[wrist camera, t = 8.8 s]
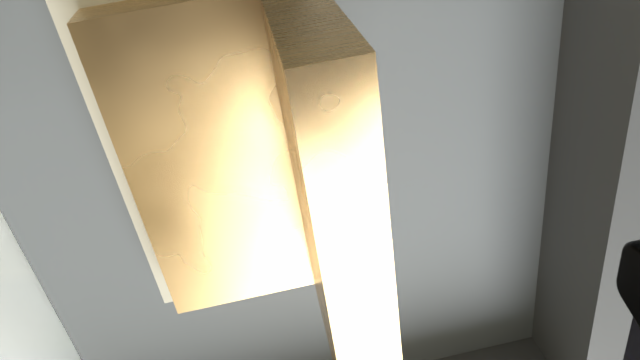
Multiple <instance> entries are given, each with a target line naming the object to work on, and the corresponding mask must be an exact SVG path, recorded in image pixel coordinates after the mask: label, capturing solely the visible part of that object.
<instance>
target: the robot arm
mask: <svg viewBox="0 0 640 360" xmlns="http://www.w3.org/2000/svg"><path fill="white" fill-rule="evenodd" d="M616 284H617V289H618V292H619V294H620V296H621V298H622V299H623V301H624V303H625V304H626V306H627V308H628V309H629V311H630V313H631V314H632V316H633V318H634V319H635V321H636V323H637V324H638V326H639V328H640V240H635V241H631V242H628V243H626V244H625V245H624V247H623V248H622V252H621V258H620V263H619V268H618V273H617V278H616Z"/></svg>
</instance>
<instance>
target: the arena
mask: <svg viewBox="0 0 640 360" xmlns="http://www.w3.org/2000/svg"><path fill="white" fill-rule="evenodd" d="M119 1H124V0H0V211H1V213H2V215H3V216H4V218H5V220H6V222H7V224H8V226H9V227H10V229H11V231H12V233H13V235H14V237H15V238H16V240H17V242H18V244H19V246H20V248H21V249H22V251H23V253H24V255H25V257H26V259H27V260H28V262H29V264H30V266H31V268H32V270H33V271H34V273H35V275H36V277H37V279H38V281H39V282H40V284H41V286H42V288H43V290H44V292H45V293H46V295H47V297H48V299H49V301H50V303H51V304H52V306H53V308H54V310H55V312H56V314H57V315H58V317H59V319H60V321H61V323H62V325H63V326H64V328H65V330H66V332H67V334H68V336H69V337H70V339H71V341H72V343H73V345H74V347H75V348H76V350H77V352H78V354H79V356H80V358H81V359H82V360H332V356H331V352H330V348H329V343H328V339H327V335H326V331H325V326H324V322H323V318H322V314H321V309H320V305H319V301H318V297H317V292H316V288H315V284H311V285H306V286H302V287H297V288H293V289H288V290H284V291H279V292H275V293H270V294H266V295H261V296H257V297H252V298H248V299H243V300H239V301H234V302H230V303H225V304H221V305H216V306H212V307H207V308H202V309H198V310H193V311H189V312H184V313H180V314H178V313H177V310H176V307H175V305H174V302H173V300H172V297H171V294H170V292H169V289H168V287H167V284H166V281H165V279H164V276H163V274H162V271H161V268H160V266H159V263H158V261H157V258H156V255H155V253H154V250H153V248H152V245H151V242H150V240H149V237H148V235H147V232H146V229H145V227H144V224H143V222H142V219H141V216H140V214H139V211H138V209H137V206H136V203H135V201H134V198H133V196H132V193H131V190H130V188H129V185H128V183H127V180H126V177H125V175H124V172H123V169H122V167H121V164H120V162H119V159H118V156H117V154H116V151H115V149H114V146H113V143H112V141H111V138H110V136H109V133H108V130H107V128H106V125H105V123H104V120H103V117H102V115H101V112H100V110H99V107H98V104H97V102H96V99H95V97H94V94H93V91H92V89H91V86H90V84H89V81H88V78H87V76H86V73H85V71H84V68H83V65H82V63H81V60H80V58H79V55H78V52H77V50H76V47H75V45H74V42H73V39H72V37H71V34H70V32H69V29H68V26H67V22H68V21H69V20H70V19H71V18H72V16H73V15H74V14H75V13H76V12H77V10H78V9H80V8H86V7H91V6H97V5H102V4H108V3H113V2H119ZM334 1H335V2H336V3H337V5H338V6H339V7H340V8H341V10H342V11H343V12H344V13H345V15H346V16H347V17H348V18H349V19H350V21H351V22H352V23H353V24H354V26H355V27H356V28H357V29H358V31H359V32H360V33H361V34H362V36H363V37H364V38H365V39H366V41H367V42H368V43H369V44H370V45H371V47H372V48H373V49H374V50H375V52H376V61H377V72H378V84H379V95H380V107H381V118H382V129H383V141H384V152H385V164H386V175H387V187H388V198H389V210H390V221H391V233H392V244H393V256H394V267H395V279H396V290H397V301H398V313H399V324H400V336H401V347H402V359H403V360H623V358H624V353H625V349H626V345H627V340H628V336H629V332H630V327H631V323H632V319H633V316H632V314H631V313H630V311H629V309H628V308H627V306H626V304H625V303H624V301H623V299H622V298H621V296H620V294H619V292H618V289H617V284H616V278H617V273H618V268H619V263H620V258H621V252H622V248H623V247H624V245H625V244H626V243H628V242H631V241H635V240H640V0H334Z"/></svg>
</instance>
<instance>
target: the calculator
mask: <svg viewBox="0 0 640 360" xmlns="http://www.w3.org/2000/svg"><path fill="white" fill-rule="evenodd" d="M623 360H640V328H639V326H638V324H637V323H636V321H635V319H634V318H633V319H632V323H631V327H630V332H629V336H628V340H627V345H626V349H625V353H624V358H623Z"/></svg>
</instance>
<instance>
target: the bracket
mask: <svg viewBox="0 0 640 360" xmlns="http://www.w3.org/2000/svg"><path fill="white" fill-rule="evenodd" d="M67 26H68V29H69V32H70V34H71V37H72V39H73V42H74V45H75V47H76V50H77V52H78V55H79V58H80V60H81V63H82V65H83V68H84V71H85V73H86V76H87V78H88V81H89V84H90V86H91V89H92V91H93V94H94V97H95V99H96V102H97V104H98V107H99V110H100V112H101V115H102V117H103V120H104V123H105V125H106V128H107V130H108V133H109V136H110V138H111V141H112V143H113V146H114V149H115V151H116V154H117V156H118V159H119V162H120V164H121V167H122V169H123V172H124V175H125V177H126V180H127V183H128V185H129V188H130V190H131V193H132V196H133V198H134V201H135V203H136V206H137V209H138V211H139V214H140V216H141V219H142V222H143V224H144V227H145V229H146V232H147V235H148V237H149V240H150V242H151V245H152V248H153V250H154V253H155V255H156V258H157V261H158V263H159V266H160V268H161V271H162V274H163V276H164V279H165V281H166V284H167V287H168V289H169V292H170V294H171V297H172V300H173V302H174V305H175V307H176V310H177V313H178V314H180V313H184V312H189V311H193V310H198V309H202V308H207V307H212V306H216V305H221V304H225V303H230V302H234V301H239V300H243V299H248V298H252V297H257V296H261V295H266V294H270V293H275V292H279V291H284V290H288V289H293V288H297V287H302V286H306V285H311V284H315V288H316V292H317V297H318V301H319V305H320V309H321V314H322V318H323V322H324V326H325V331H326V335H327V339H328V343H329V348H330V352H331V356H332V360H403V359H402V347H401V336H400V324H399V313H398V301H397V290H396V279H395V267H394V256H393V244H392V233H391V221H390V210H389V198H388V187H387V175H386V164H385V152H384V141H383V129H382V118H381V107H380V95H379V84H378V72H377V61H376V52H375V50H374V49H373V48H372V47H371V45H370V44H369V43H368V42H367V41H366V39H365V38H364V37H363V36H362V34H361V33H360V32H359V31H358V29H357V28H356V27H355V26H354V24H353V23H352V22H351V21H350V19H349V18H348V17H347V16H346V15H345V13H344V12H343V11H342V10H341V8H340V7H339V6H338V5H337V3H336V2H335V1H334V0H124V1H119V2H113V3H108V4H102V5H97V6H91V7H86V8H80V9H78V10H77V12H76V13H75V14H74V15H73V16H72V18H71V19H70V20H69V21H68V22H67Z"/></svg>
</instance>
